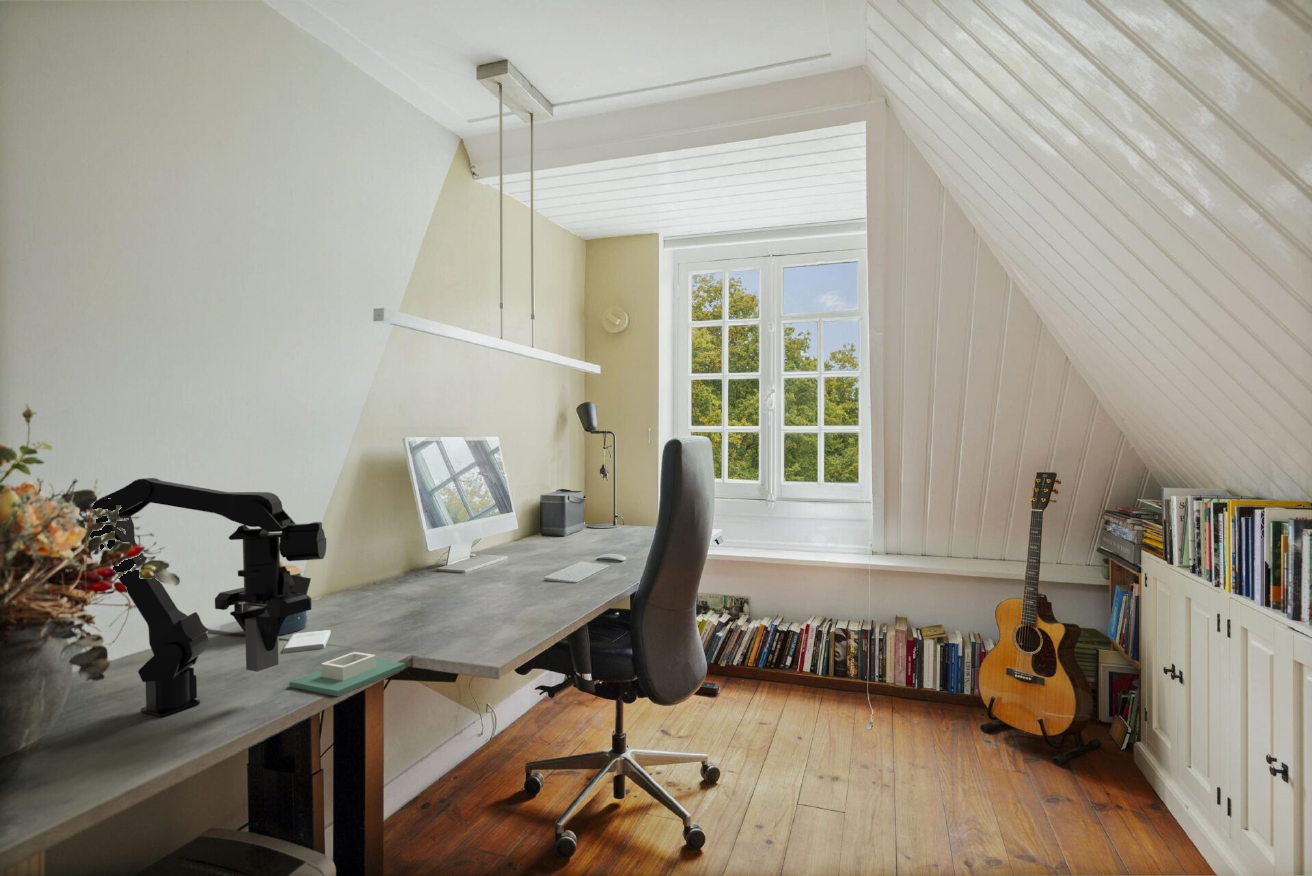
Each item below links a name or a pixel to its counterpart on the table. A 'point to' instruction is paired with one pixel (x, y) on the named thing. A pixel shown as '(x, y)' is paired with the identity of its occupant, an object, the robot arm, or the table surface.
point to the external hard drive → (307, 641)
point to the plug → (258, 648)
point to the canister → (295, 620)
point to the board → (347, 674)
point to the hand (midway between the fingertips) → (264, 649)
